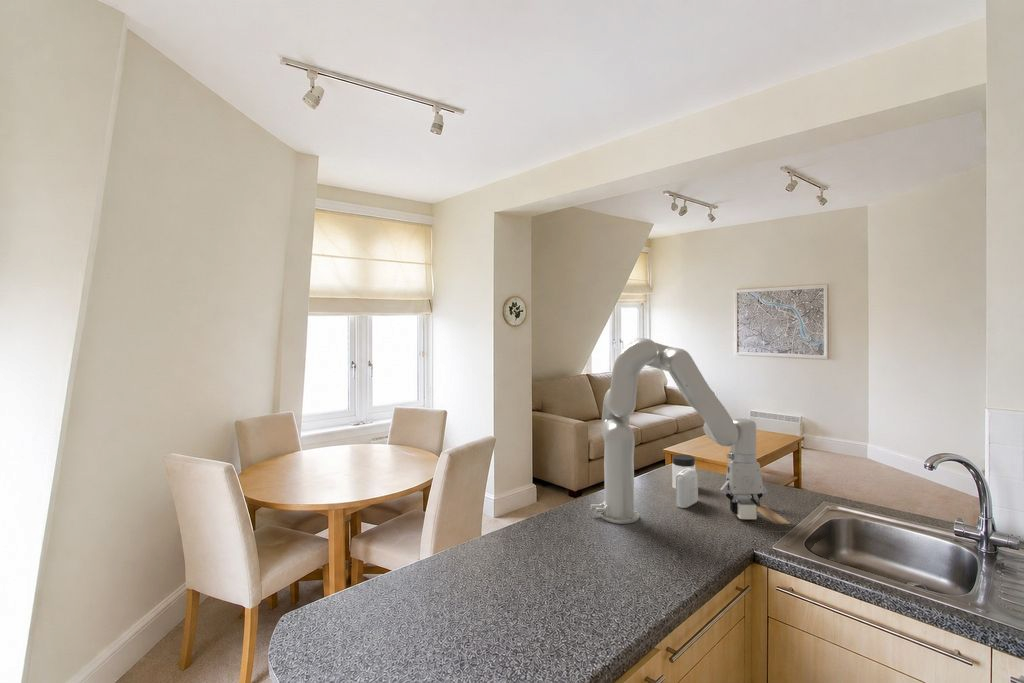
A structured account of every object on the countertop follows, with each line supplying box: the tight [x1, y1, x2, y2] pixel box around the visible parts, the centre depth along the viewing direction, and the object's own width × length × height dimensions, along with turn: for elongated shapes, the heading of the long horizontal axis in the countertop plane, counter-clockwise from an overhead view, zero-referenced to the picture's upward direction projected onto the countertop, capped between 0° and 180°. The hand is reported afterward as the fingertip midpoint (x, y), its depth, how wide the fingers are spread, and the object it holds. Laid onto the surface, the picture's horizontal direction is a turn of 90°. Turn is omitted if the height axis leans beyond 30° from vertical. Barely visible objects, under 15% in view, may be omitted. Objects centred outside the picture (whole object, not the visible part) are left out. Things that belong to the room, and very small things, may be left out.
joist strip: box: [757, 504, 792, 525], centre depth 159 cm, size 5×16×1 cm, turn 0°
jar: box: [671, 453, 696, 490], centre depth 187 cm, size 9×8×12 cm
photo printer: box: [675, 468, 699, 509], centre depth 170 cm, size 10×4×12 cm, turn 134°
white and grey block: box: [736, 495, 758, 520], centre depth 157 cm, size 5×8×5 cm, turn 174°
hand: (743, 512), depth 157 cm, fingers closed on white and grey block, 5 cm apart
